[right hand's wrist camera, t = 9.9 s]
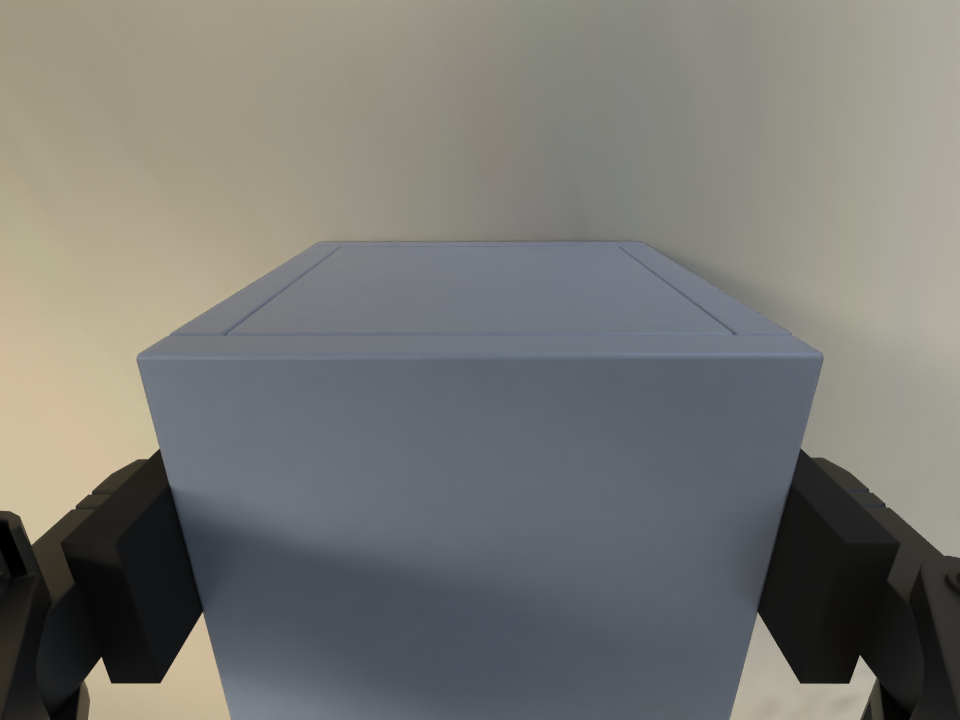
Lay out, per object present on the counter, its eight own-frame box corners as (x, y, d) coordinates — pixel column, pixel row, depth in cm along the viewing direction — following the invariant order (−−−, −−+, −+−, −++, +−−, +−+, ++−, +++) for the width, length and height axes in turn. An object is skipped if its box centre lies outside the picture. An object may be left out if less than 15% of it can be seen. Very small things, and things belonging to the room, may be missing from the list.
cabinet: (594, 659, 23) (664, 973, 14) (365, 660, 23) (296, 974, 14) (642, 241, 16) (828, 353, 8) (317, 241, 16) (131, 355, 8)
